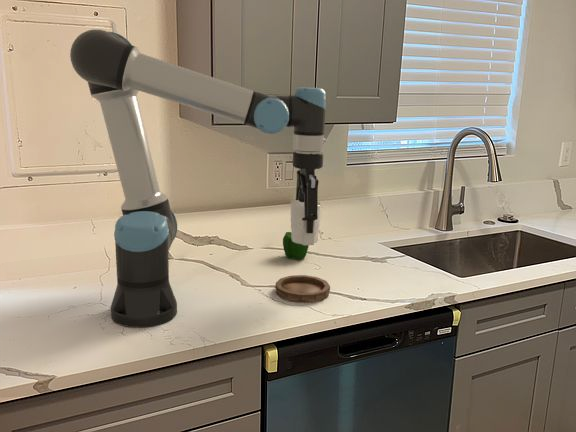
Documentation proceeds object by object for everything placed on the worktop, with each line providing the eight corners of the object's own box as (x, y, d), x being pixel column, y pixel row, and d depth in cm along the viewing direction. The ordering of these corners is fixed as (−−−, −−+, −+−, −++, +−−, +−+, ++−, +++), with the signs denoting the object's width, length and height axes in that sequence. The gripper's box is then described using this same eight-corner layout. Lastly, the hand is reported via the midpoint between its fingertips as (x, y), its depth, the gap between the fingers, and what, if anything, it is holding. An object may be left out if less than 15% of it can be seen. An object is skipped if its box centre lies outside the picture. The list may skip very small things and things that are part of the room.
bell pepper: (291, 263, 171) (292, 232, 169) (278, 255, 178) (279, 225, 175) (314, 260, 175) (316, 229, 173) (301, 252, 182) (302, 222, 180)
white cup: (317, 246, 141) (319, 207, 139) (286, 243, 143) (287, 205, 140) (321, 238, 149) (323, 200, 146) (292, 235, 150) (293, 198, 148)
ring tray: (280, 304, 141) (281, 296, 141) (272, 283, 155) (272, 276, 154) (335, 301, 144) (335, 293, 143) (321, 281, 157) (322, 274, 157)
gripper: (333, 158, 131) (328, 251, 137) (313, 146, 150) (310, 228, 156) (302, 157, 129) (298, 252, 135) (285, 145, 149) (283, 229, 155)
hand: (304, 239), depth 146 cm, fingers closed on white cup, 8 cm apart
